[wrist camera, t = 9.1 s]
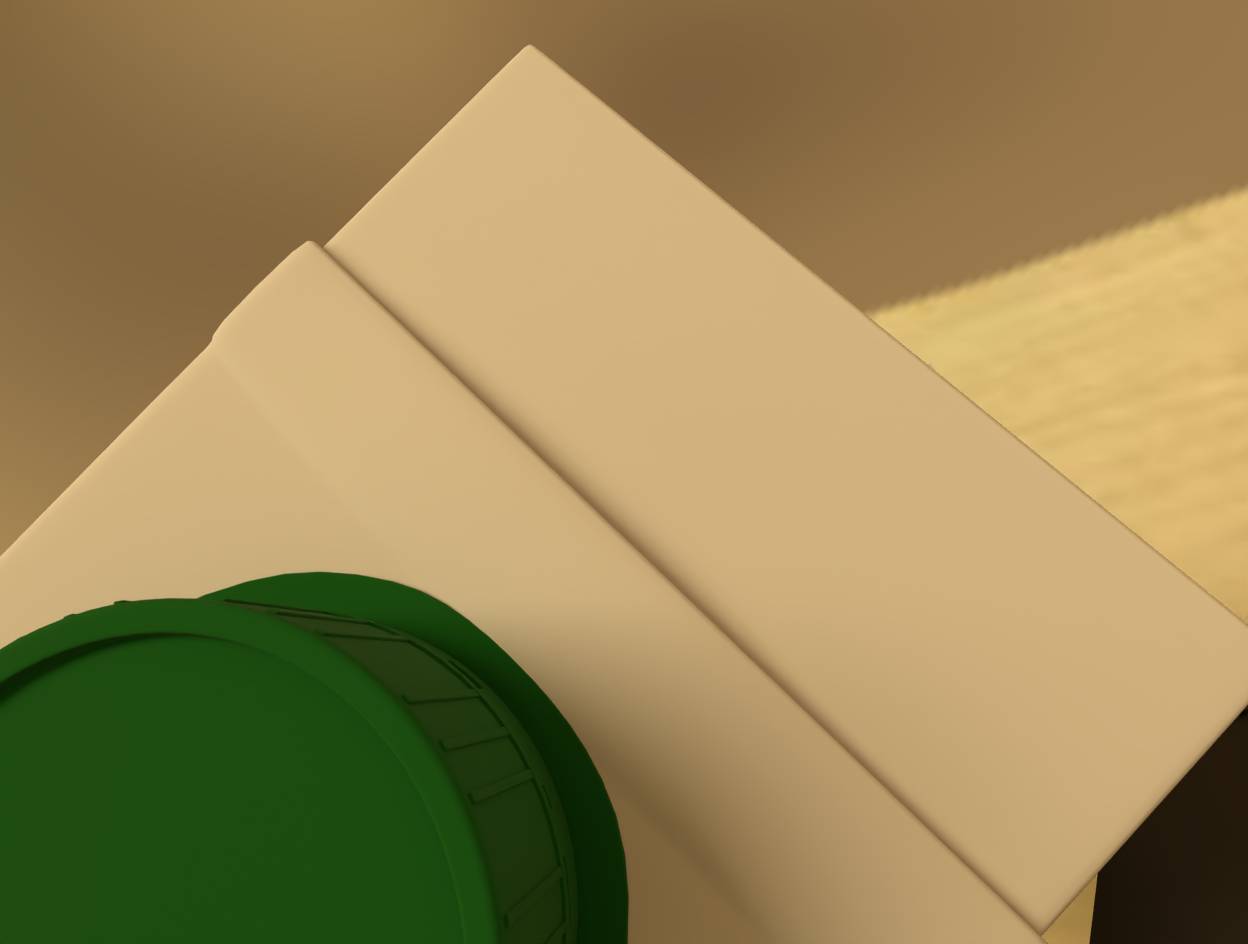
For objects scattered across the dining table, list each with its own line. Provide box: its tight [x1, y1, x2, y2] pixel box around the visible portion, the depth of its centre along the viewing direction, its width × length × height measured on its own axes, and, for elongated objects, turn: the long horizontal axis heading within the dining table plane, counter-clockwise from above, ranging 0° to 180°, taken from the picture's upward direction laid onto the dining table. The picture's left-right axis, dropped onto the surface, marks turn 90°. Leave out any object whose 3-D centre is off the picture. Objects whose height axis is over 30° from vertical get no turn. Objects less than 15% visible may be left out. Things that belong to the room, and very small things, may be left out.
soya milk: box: [0, 45, 1248, 944], centre depth 15 cm, size 9×9×20 cm
